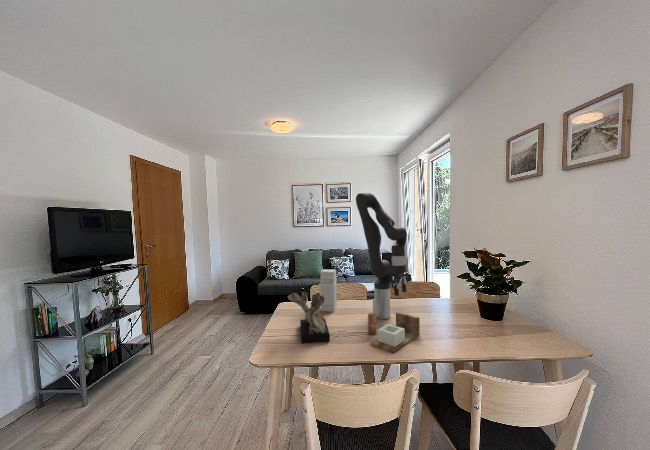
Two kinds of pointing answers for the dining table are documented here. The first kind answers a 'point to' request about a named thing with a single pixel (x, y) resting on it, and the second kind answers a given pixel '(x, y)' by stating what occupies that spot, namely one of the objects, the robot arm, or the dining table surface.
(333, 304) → the box
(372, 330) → the dowel
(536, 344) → the dining table surface
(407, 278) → the robot arm
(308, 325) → the coral
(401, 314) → the walnut angle bracket
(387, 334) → the hole block
